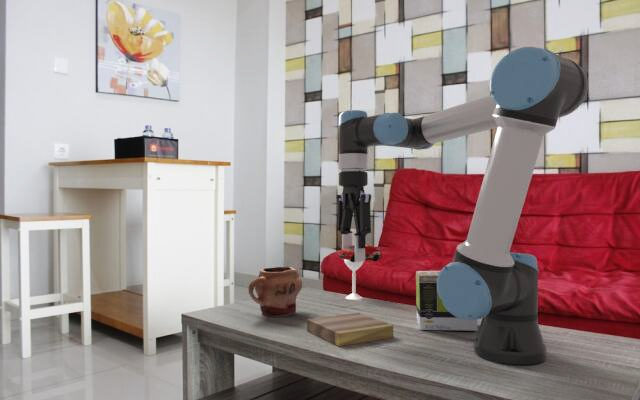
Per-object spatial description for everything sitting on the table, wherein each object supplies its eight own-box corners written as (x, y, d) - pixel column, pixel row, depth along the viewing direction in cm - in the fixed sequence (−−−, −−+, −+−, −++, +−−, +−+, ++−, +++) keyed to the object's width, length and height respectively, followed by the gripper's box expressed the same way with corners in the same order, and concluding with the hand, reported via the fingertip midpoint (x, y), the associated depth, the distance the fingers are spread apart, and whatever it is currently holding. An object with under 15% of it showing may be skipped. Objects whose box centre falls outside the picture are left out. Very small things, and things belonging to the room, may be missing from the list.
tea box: (470, 323, 143) (470, 270, 143) (477, 332, 133) (477, 275, 133) (415, 321, 145) (415, 269, 145) (419, 330, 135) (419, 274, 135)
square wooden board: (393, 337, 128) (393, 325, 128) (338, 346, 120) (338, 333, 120) (358, 323, 142) (358, 312, 142) (307, 330, 134) (307, 319, 134)
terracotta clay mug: (267, 325, 141) (267, 274, 140) (236, 318, 148) (236, 270, 148) (312, 312, 156) (312, 266, 156) (282, 306, 164) (282, 263, 164)
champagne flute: (354, 301, 173) (354, 230, 173) (340, 298, 178) (340, 229, 178) (367, 298, 177) (367, 229, 177) (353, 295, 182) (353, 228, 182)
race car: (346, 263, 129) (348, 247, 129) (333, 257, 134) (335, 242, 133) (384, 261, 137) (386, 247, 136) (371, 256, 141) (373, 242, 141)
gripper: (385, 169, 127) (385, 262, 127) (347, 173, 144) (347, 255, 144) (360, 168, 124) (360, 264, 124) (323, 172, 140) (323, 257, 140)
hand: (353, 259), depth 134 cm, fingers closed on race car, 6 cm apart
